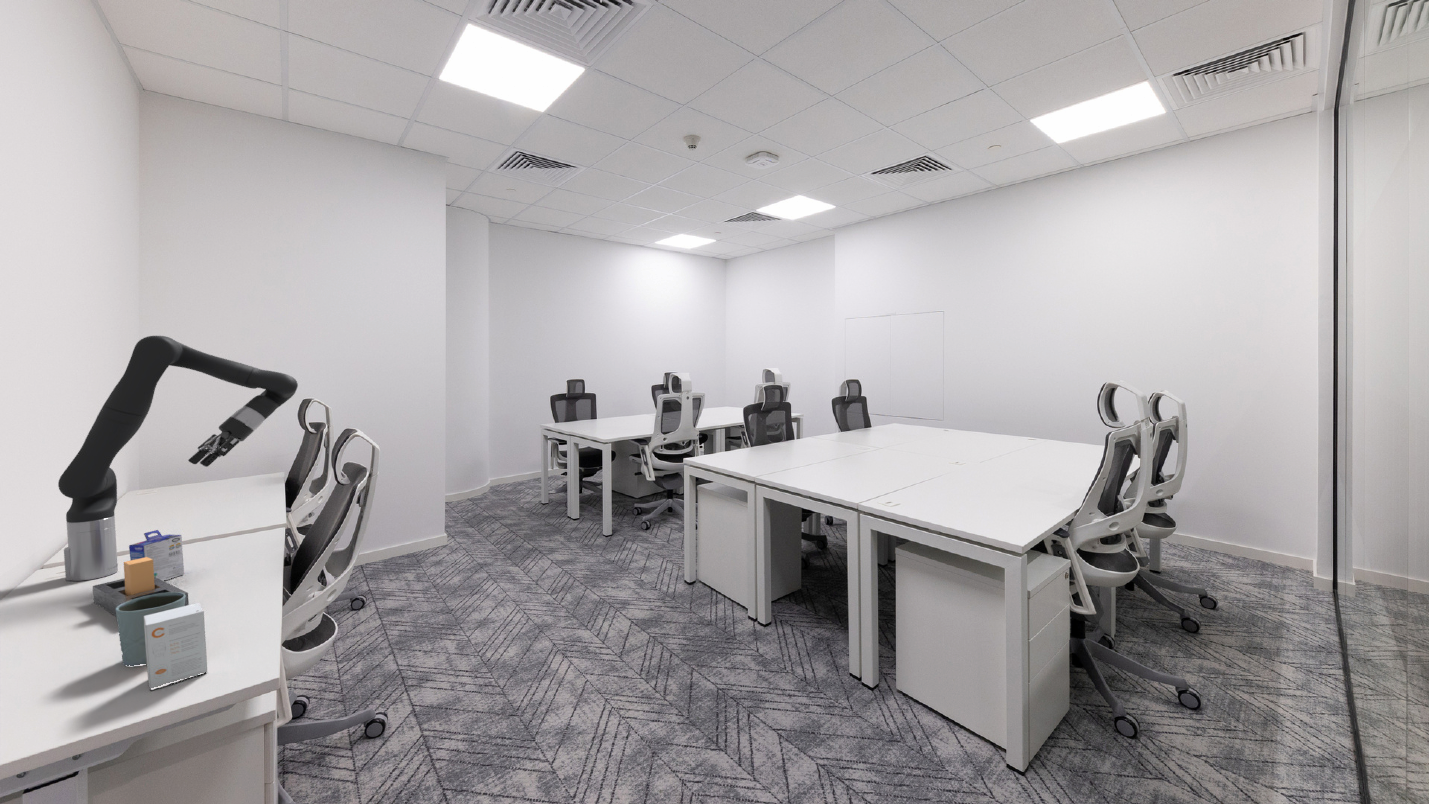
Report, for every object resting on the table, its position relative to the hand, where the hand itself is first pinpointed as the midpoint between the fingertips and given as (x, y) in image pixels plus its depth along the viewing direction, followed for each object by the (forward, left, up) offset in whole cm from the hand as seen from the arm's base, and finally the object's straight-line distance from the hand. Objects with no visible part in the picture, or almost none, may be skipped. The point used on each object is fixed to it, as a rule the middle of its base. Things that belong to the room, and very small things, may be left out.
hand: (197, 463), depth 161 cm
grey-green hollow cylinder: (+17, -61, -33) cm, 71 cm away
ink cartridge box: (-7, -7, -33) cm, 34 cm away
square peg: (-1, -28, -32) cm, 42 cm away
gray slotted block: (-1, -28, -33) cm, 43 cm away
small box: (+26, -73, -33) cm, 84 cm away
